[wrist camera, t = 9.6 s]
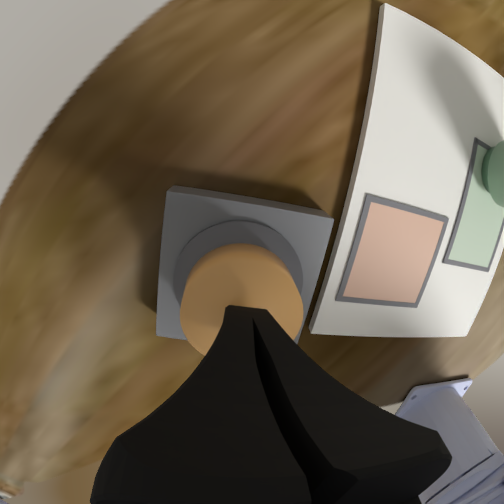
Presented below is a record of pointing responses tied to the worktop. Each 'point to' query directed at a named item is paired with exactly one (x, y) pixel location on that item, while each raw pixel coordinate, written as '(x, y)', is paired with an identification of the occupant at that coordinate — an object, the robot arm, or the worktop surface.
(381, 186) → the picture card
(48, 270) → the worktop surface
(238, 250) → the button
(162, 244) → the button pad
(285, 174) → the worktop surface
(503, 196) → the green cylinder
